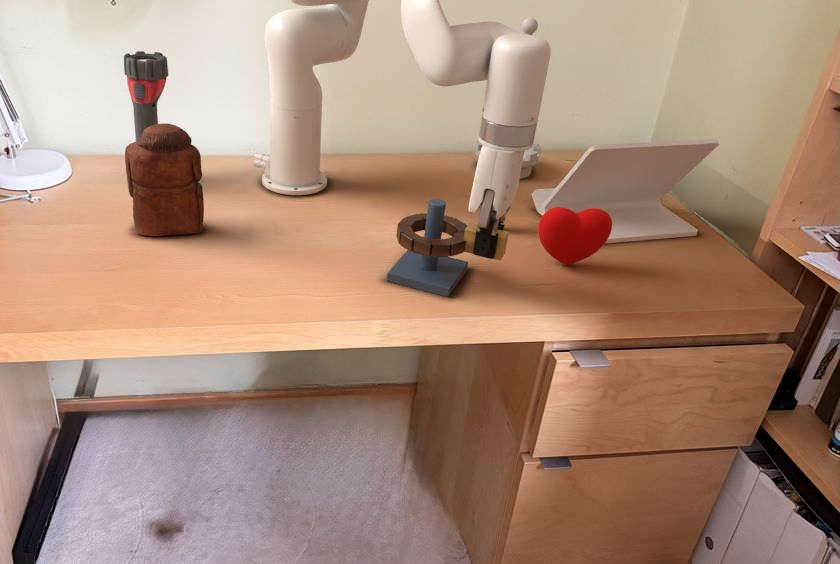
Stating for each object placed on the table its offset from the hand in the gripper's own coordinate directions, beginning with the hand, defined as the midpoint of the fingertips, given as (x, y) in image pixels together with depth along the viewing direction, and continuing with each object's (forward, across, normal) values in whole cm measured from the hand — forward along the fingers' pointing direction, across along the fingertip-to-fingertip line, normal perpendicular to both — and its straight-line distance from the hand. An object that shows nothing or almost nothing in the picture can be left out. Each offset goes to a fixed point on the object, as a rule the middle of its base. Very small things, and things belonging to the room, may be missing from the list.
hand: (486, 250), depth 116 cm
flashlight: (+7, -10, -68) cm, 69 cm away
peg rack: (+7, 0, -9) cm, 11 cm away
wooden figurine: (+7, +7, -53) cm, 53 cm away
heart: (+7, -15, +10) cm, 20 cm away
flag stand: (+7, -52, -10) cm, 53 cm away
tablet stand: (+7, -38, +14) cm, 41 cm away
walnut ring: (0, 0, -6) cm, 6 cm away
